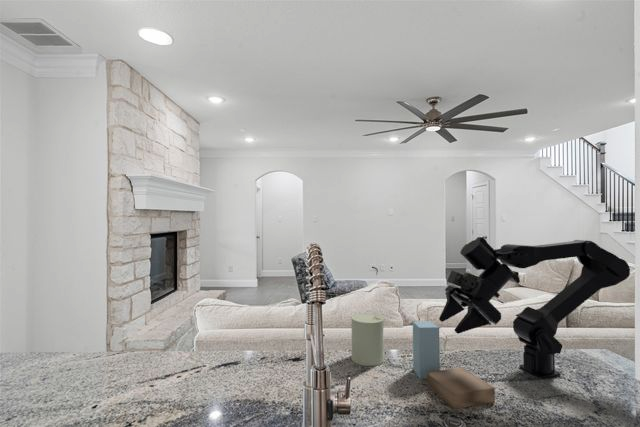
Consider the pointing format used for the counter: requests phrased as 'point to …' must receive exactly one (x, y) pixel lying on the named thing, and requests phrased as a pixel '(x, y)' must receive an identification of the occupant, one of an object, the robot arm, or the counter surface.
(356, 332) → the can
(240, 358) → the counter surface
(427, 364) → the block
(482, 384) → the slab
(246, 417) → the counter surface
